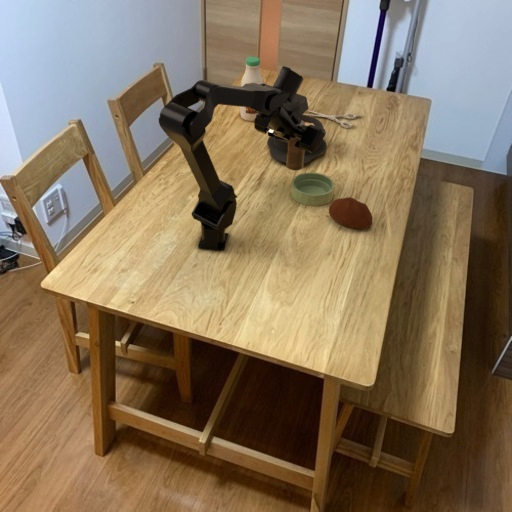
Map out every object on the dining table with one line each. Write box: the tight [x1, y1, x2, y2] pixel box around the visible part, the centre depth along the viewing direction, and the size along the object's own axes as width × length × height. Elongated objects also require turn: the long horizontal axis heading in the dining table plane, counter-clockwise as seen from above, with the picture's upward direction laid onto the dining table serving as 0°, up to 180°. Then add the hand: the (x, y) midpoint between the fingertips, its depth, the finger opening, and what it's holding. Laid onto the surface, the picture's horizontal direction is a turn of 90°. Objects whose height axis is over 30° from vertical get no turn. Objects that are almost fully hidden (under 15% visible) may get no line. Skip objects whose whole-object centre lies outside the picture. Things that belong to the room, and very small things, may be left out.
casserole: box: [266, 114, 327, 165], centre depth 163 cm, size 25×19×8 cm
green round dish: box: [290, 171, 335, 207], centre depth 145 cm, size 12×12×4 cm
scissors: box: [304, 109, 362, 129], centre depth 183 cm, size 11×1×20 cm
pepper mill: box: [285, 120, 305, 171], centre depth 141 cm, size 5×5×13 cm
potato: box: [328, 196, 374, 230], centre depth 134 cm, size 8×12×8 cm, turn 74°
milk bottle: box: [239, 56, 264, 122], centre depth 176 cm, size 8×8×20 cm
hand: (299, 142), depth 142 cm, fingers closed on pepper mill, 4 cm apart
